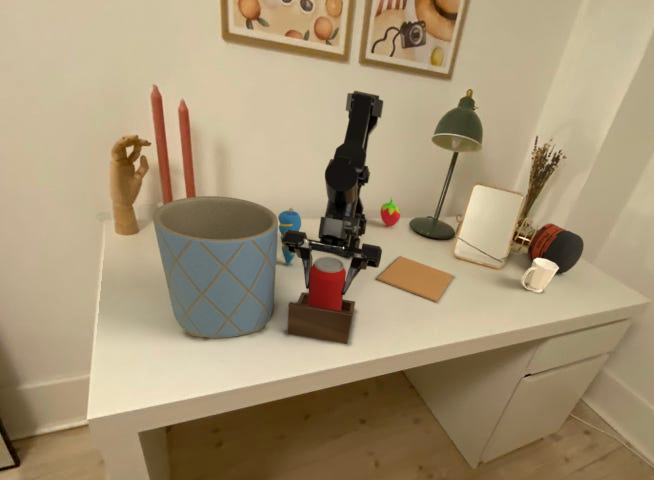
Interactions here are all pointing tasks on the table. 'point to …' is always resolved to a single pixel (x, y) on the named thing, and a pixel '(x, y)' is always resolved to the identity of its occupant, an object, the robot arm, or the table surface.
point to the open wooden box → (320, 320)
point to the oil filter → (556, 247)
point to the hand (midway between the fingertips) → (325, 291)
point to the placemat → (416, 278)
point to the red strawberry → (390, 213)
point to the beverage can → (326, 283)
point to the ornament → (290, 222)
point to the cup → (539, 274)
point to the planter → (218, 263)
